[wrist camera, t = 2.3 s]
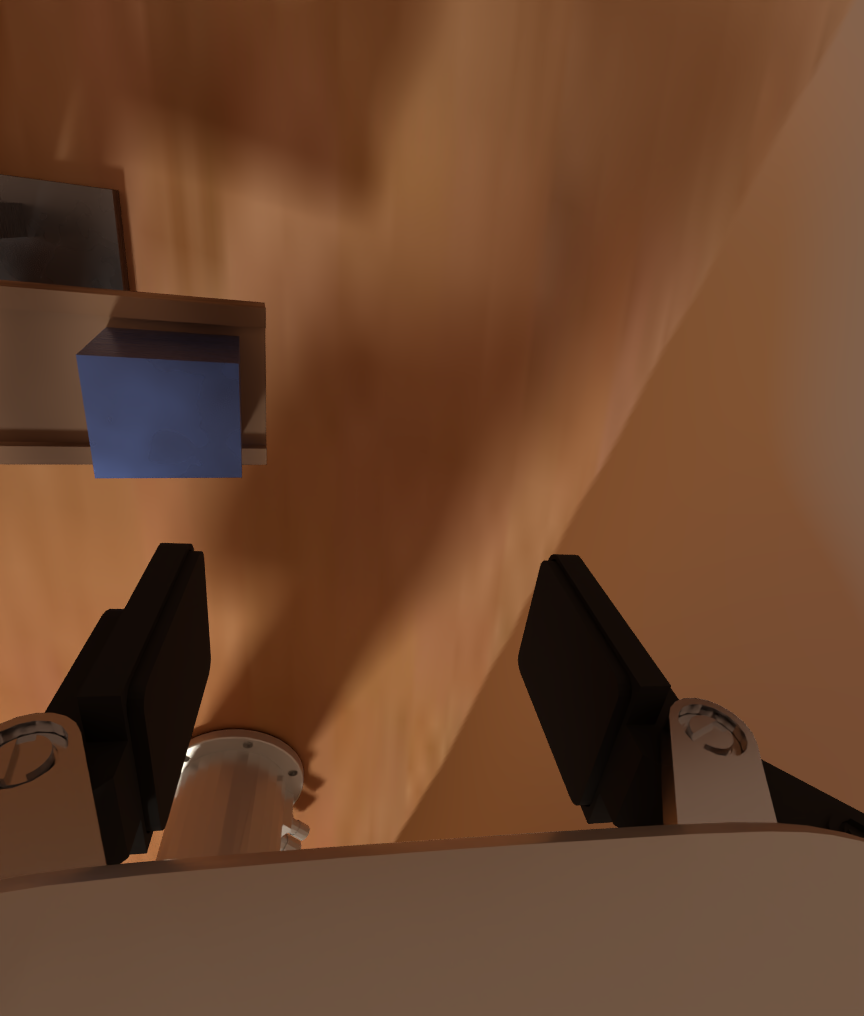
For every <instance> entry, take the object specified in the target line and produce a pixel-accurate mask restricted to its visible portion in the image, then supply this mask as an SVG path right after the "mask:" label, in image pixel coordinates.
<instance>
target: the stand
mask: <svg viewBox="0 0 864 1016" xmlns="http://www.w3.org/2000/svg"><path fill="white" fill-rule="evenodd" d="M0 280H9V281H20V282H32V283H43V284H55V285H66V286H78V287H89V288H101V289H112V290H124V291H129V282H128V273H127V264H126V255H125V246H124V236H123V227H122V218H121V209H120V200H119V191H118V190H111V189H103V188H96V187H89V186H81V185H74V184H67V183H60V182H52V181H45V180H38V179H30V178H23V177H16V176H8V175H1V174H0Z"/></svg>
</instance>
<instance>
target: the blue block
mask: <svg viewBox="0 0 864 1016" xmlns="http://www.w3.org/2000/svg"><path fill="white" fill-rule="evenodd" d="M76 359H77V365H78V372H79V378H80V384H81V391H82V397H83V404H84V410H85V416H86V423H87V429H88V436H89V442H90V448H91V455H92V461H93V468H94V474H95V478H235V477H242V417H241V381H240V346H239V336H229V335H214V334H200V333H185V332H171V331H156V330H141V329H127V328H112V327H106V328H105V329H103V330H102V331H101V332H100V333H99V334H98V335H97V336H96V337H95V338H94V339H93V340H91V341H90V342H89V343H88V344H87V345H86V346H85V347H84V348H83V349H82V350H81V351H79V352H78V353H77V354H76Z"/></svg>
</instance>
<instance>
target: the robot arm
mask: <svg viewBox="0 0 864 1016" xmlns="http://www.w3.org/2000/svg"><path fill="white" fill-rule="evenodd" d="M210 663H211V653H210V638H209V623H208V608H207V594H206V579H205V564H204V554H203V552H202V551H194V548H193V545H192V544H179V543H160V545H159V546H158V548H157V550H156V551H155V553H154V555H153V557H152V559H151V561H150V562H149V564H148V566H147V568H146V570H145V572H144V574H143V575H142V577H141V579H140V581H139V583H138V585H137V586H136V588H135V590H134V592H133V594H132V596H131V597H130V599H129V601H128V603H127V605H126V607H125V608H124V609H109V610H107V611H105V613H104V614H103V615H102V616H101V618H100V620H99V622H98V623H97V625H96V627H95V628H94V630H93V632H92V633H91V635H90V637H89V638H88V640H87V642H86V644H85V645H84V647H83V649H82V650H81V652H80V654H79V655H78V657H77V659H76V660H75V662H74V664H73V666H72V667H71V669H70V671H69V672H68V674H67V676H66V677H65V679H64V681H63V683H62V684H61V686H60V688H59V689H58V691H57V693H56V694H55V696H54V698H53V699H52V701H51V703H50V705H49V706H48V708H47V710H46V711H45V713H33V714H29V715H24V716H19V717H16V718H14V719H11V720H8V721H6V722H3V723H1V724H0V1016H864V813H862V812H860V811H858V810H856V809H854V808H852V807H851V806H848V805H847V804H845V803H843V802H841V801H839V800H837V799H835V798H833V797H832V796H830V795H828V794H826V793H824V792H822V791H820V790H818V789H816V788H815V787H813V786H811V785H809V784H807V783H805V782H803V781H801V780H799V779H798V778H795V777H794V776H792V775H790V774H788V773H786V772H784V771H782V770H780V769H778V768H777V767H775V766H773V765H771V764H769V763H767V762H765V761H763V760H762V759H761V757H760V753H759V749H758V745H757V742H756V740H755V738H754V735H753V733H752V732H751V731H750V729H749V728H748V727H747V726H746V724H745V723H744V722H743V721H742V720H740V719H739V718H738V717H737V716H736V715H734V714H733V713H732V712H730V711H729V710H727V709H725V708H723V707H722V706H720V705H718V704H715V703H713V702H710V701H707V700H703V699H697V698H683V699H681V700H679V699H678V698H677V696H676V695H675V693H674V692H673V691H672V689H671V688H670V687H671V685H670V684H669V682H668V681H667V679H666V678H665V677H664V675H663V674H662V672H661V671H660V670H659V668H658V667H657V665H656V664H655V663H654V661H653V660H652V658H651V657H650V655H649V654H648V653H647V651H646V650H645V648H644V647H643V646H642V644H641V643H640V641H639V640H638V639H637V637H636V636H635V634H634V633H633V631H632V630H631V629H630V627H629V626H628V624H627V623H626V621H625V620H624V619H623V617H622V616H621V614H620V613H619V612H618V610H617V609H616V607H615V606H614V605H613V603H612V602H611V600H610V599H609V597H608V596H607V595H606V593H605V592H604V590H603V589H602V588H601V586H600V585H599V583H598V582H597V581H596V579H595V578H594V576H593V575H592V574H591V572H590V571H589V569H588V568H587V567H586V565H585V564H584V562H583V561H582V559H581V558H580V557H579V556H578V555H559V554H553V555H551V556H550V558H549V560H548V561H543V562H542V563H541V566H540V569H539V573H538V577H537V581H536V586H535V590H534V594H533V598H532V602H531V606H530V610H529V614H528V618H527V622H526V626H525V630H524V634H523V638H522V642H521V646H520V650H519V655H518V665H519V670H520V673H521V675H522V678H523V680H524V683H525V686H526V688H527V690H528V693H529V696H530V698H531V701H532V703H533V705H534V708H535V711H536V713H537V716H538V718H539V721H540V723H541V726H542V728H543V731H544V733H545V735H546V738H547V741H548V743H549V746H550V748H551V751H552V753H553V756H554V758H555V761H556V763H557V766H558V768H559V771H560V773H561V776H562V779H563V781H564V783H565V785H566V788H567V791H568V794H569V796H570V798H571V800H572V802H573V803H574V804H575V805H580V806H581V808H582V810H583V813H584V815H585V818H586V820H587V823H588V824H593V823H608V822H613V824H614V825H615V826H617V827H618V828H607V829H591V830H576V831H561V832H560V831H559V832H544V833H527V834H513V835H498V836H483V837H468V838H454V839H440V840H425V841H411V842H396V843H381V844H367V845H353V846H339V847H326V848H312V849H301V842H300V841H299V840H301V841H302V840H304V839H305V838H306V837H307V836H308V834H309V830H310V829H309V826H308V825H306V824H305V823H303V822H301V821H299V820H296V819H294V818H293V814H292V812H293V805H294V803H295V802H296V801H297V799H298V798H299V796H300V794H301V791H302V788H303V780H304V769H303V766H302V762H301V760H300V758H299V757H298V755H297V753H296V752H295V751H294V750H293V749H292V748H291V747H290V746H289V745H287V744H286V743H284V742H282V741H281V740H279V739H277V738H275V737H273V736H270V735H268V734H265V733H261V732H257V731H251V730H243V729H227V730H220V731H213V732H210V733H206V734H203V735H199V736H197V737H195V738H193V739H191V736H192V732H193V729H194V725H195V722H196V718H197V715H198V711H199V708H200V704H201V701H202V697H203V693H204V690H205V686H206V683H207V679H208V676H209V671H210ZM160 830H164V833H163V837H162V840H161V844H160V847H159V851H158V854H157V858H156V861H148V862H137V863H126V864H120V863H122V862H123V861H124V860H126V859H127V858H128V857H129V854H144V853H147V851H148V847H149V844H150V841H151V837H152V834H153V831H160ZM287 833H290V835H289V834H287ZM291 835H292V836H294V837H295V838H294V837H292V836H291ZM296 838H297V839H296ZM298 839H299V840H298Z"/></svg>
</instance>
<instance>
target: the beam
mask: <svg viewBox="0 0 864 1016" xmlns="http://www.w3.org/2000/svg"><path fill="white" fill-rule="evenodd" d="M106 327H112V328H127V329H141V330H156V331H171V332H185V333H200V334H214V335H229V336H239V346H240V381H241V417H242V465H267V448H266V355H265V328H266V308H265V304H264V303H261V302H250V301H238V300H227V299H215V298H204V297H192V296H181V295H169V294H158V293H146V292H135V291H124V290H112V289H101V288H89V287H78V286H66V285H55V284H43V283H32V282H20V281H9V280H0V464H93V461H92V455H91V448H90V442H89V436H88V429H87V423H86V416H85V410H84V404H83V397H82V391H81V384H80V378H79V372H78V365H77V359H76V354H77V353H78V352H79V351H81V350H82V349H83V348H84V347H85V346H86V345H87V344H88V343H89V342H90V341H91V340H93V339H94V338H95V337H96V336H97V335H98V334H99V333H100V332H101V331H102V330H103V329H105V328H106Z"/></svg>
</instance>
